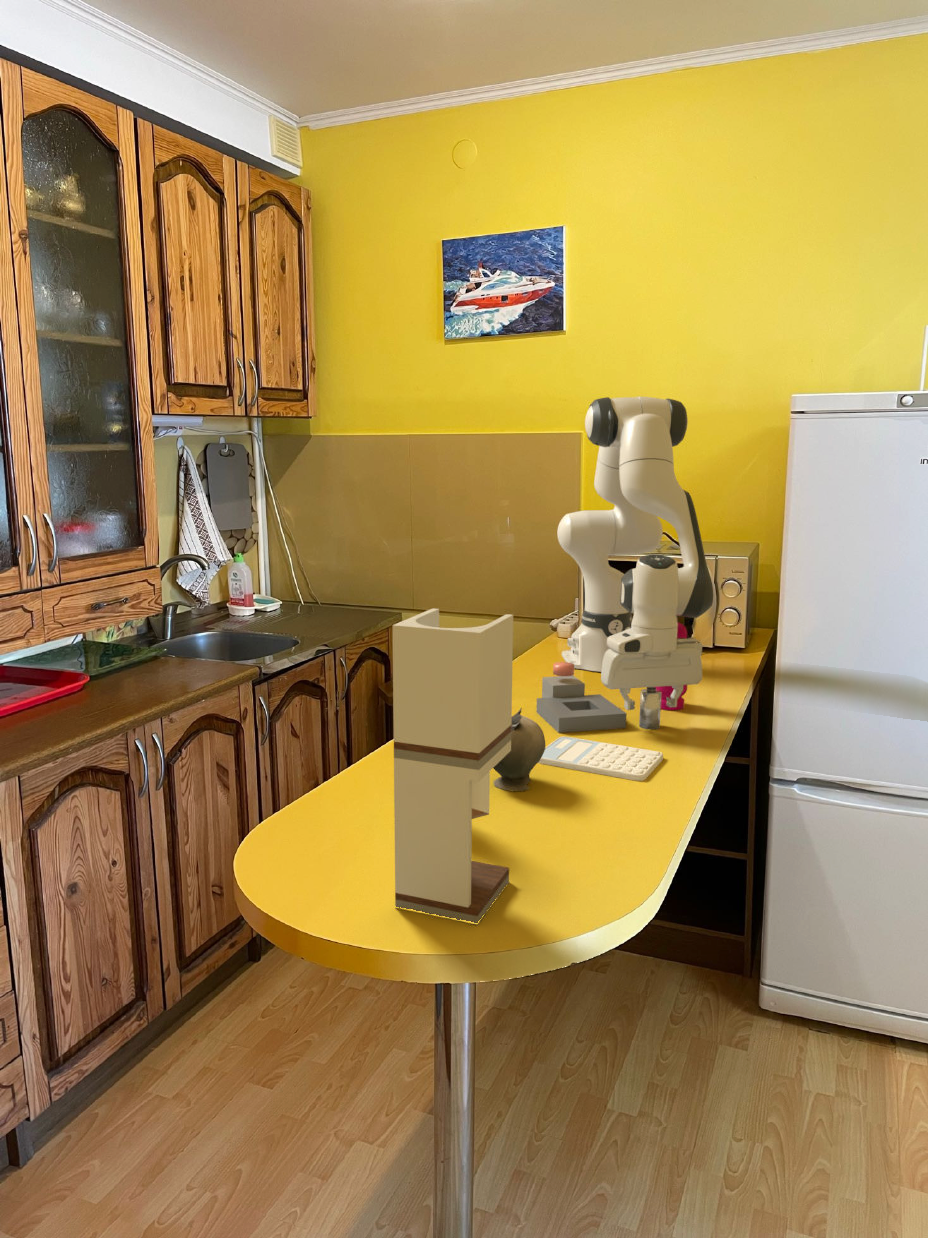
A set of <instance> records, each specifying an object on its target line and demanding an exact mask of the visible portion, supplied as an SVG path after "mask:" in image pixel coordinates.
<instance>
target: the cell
mask: <svg viewBox="0 0 928 1238" xmlns="http://www.w3.org/2000/svg"><path fill="white" fill-rule="evenodd" d="M639 699H640V700H639V701H640V702H639V722H638V725H639V726H638V727H640V728H641V729H644V730H649V729H651V730H652V729H653V730H658V729H660V725H661V710H662V709H661V691H660V690H656V687H646V688H642V689H641V690H640V698H639Z"/></svg>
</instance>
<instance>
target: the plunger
mask: <svg viewBox="0 0 928 1238" xmlns="http://www.w3.org/2000/svg"><path fill="white" fill-rule="evenodd" d="M552 669H553V671H552V673H553V674H552V675H555V676H574V675H575V668H574V664H573V663H569V662H566V661H558V662H554V663H553V666H552Z"/></svg>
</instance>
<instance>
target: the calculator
mask: <svg viewBox="0 0 928 1238" xmlns="http://www.w3.org/2000/svg"><path fill="white" fill-rule="evenodd" d="M663 760H664V754H663V752H661V751H659V750H658V751H657V750H652V749H651V750H650V749H646V748H638V747H633V746H626V745H621V744H614V743H608V742H601V741H595V740H592V739H591V740H589V739H583V738H577V737H572V736H571V737H570V736H559V737H557V738H556V739H555V740H553V741H551V743H549V744H548V745H546V746H545V751H544V753H543V755H542V757H541V759H540V761H539V762H538V763H537V764H541V765H545V766H546V765H547V766H552V767H558V768H564V769H567V770H574V771H579V772H580V771H581V772H585V773H589V774H590V773H591V774H597V775H603V776H608V777H613V778H619V779H625V780H630V781H635V782H636V781H637V782H642V781H645V780H646V779H647V778H648V777H649V776H650V775H651V774H652V773H653V772H654V770H655V769H656V768H657V767H658V766H659V765H660V763H661V762H663Z"/></svg>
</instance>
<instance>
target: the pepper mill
mask: <svg viewBox="0 0 928 1238" xmlns="http://www.w3.org/2000/svg"><path fill="white" fill-rule="evenodd" d="M676 619H677V623H678V628H677V638H688V630H687V627H686V626H685V625H684V624H683V623H681V622H678V616H676ZM656 690H660V691H661V710H664V711H678V710H679V711H680V710H682V709H684V707H685V698H684V697H683V696H684V695H686V693H687V691H688V685H683V691H682V693H681V694H680V696H679V698H678V699H677V706H676V707H669V706H667V704H666V702H667V697H670V696H671V694H672V692H673V690H674V688H672V686H659V687H656Z"/></svg>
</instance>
